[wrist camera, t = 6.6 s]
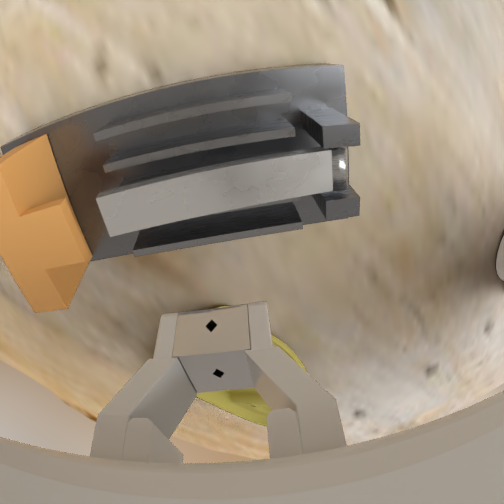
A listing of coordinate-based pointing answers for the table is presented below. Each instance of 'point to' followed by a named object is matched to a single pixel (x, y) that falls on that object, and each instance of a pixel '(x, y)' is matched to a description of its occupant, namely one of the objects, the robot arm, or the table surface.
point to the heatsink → (202, 150)
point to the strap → (223, 188)
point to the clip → (40, 227)
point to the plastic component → (246, 395)
